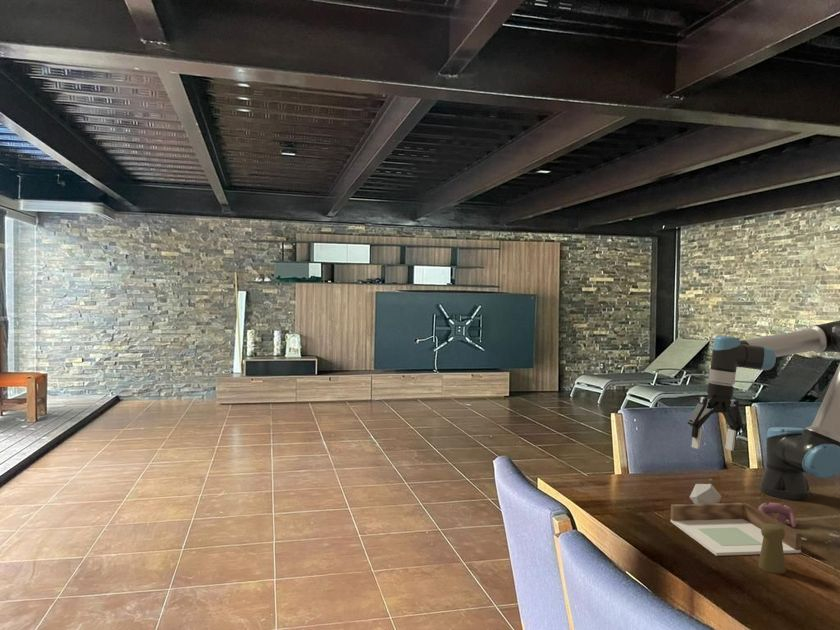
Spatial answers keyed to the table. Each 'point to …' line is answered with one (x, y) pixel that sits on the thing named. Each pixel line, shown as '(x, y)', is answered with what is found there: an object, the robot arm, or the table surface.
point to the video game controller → (781, 509)
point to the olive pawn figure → (772, 549)
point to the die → (705, 494)
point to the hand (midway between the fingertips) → (712, 448)
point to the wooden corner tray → (730, 527)
